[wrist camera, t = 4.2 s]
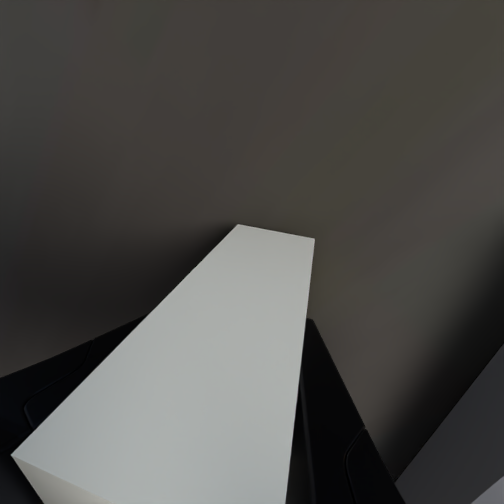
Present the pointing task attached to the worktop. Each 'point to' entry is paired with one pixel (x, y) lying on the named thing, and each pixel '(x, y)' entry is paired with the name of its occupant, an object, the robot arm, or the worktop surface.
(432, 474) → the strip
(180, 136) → the worktop surface
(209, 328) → the plug
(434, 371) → the worktop surface
